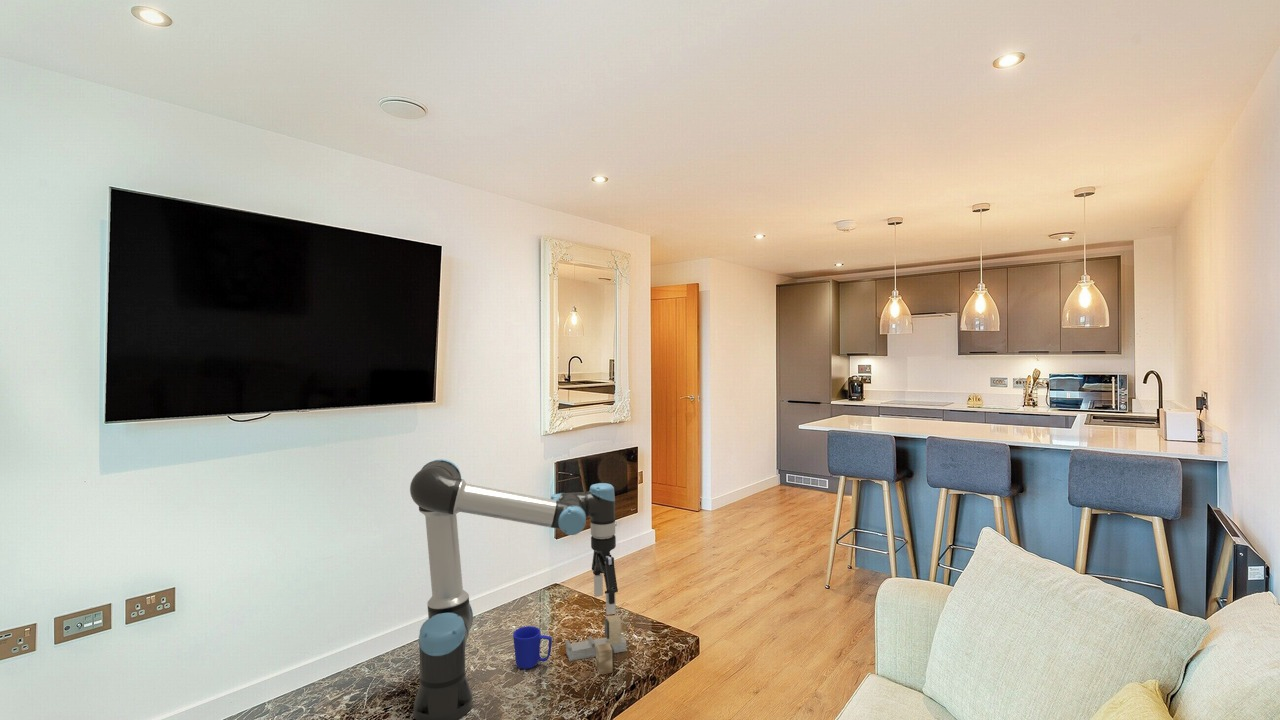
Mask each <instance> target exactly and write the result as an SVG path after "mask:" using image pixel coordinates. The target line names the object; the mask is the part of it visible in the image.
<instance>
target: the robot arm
mask: <svg viewBox="0 0 1280 720" xmlns="http://www.w3.org/2000/svg"><path fill="white" fill-rule="evenodd" d="M409 493H410V496H411V500H412V501H413V503H415V504H416V505H417V506H418V511H419V513H421V514H422V515H424V517H425V527H426V529H425V530H426V540H427V549H428V550H427V551H428V560H429V561H428V562H429V571H430V572H429V573H430V574H429V575H430V583H431V596H430V598H429V599H428V600H427V603H426V604H427V615H428V616H427V619H426V620H425V621H424V622H423V623H422V625H421V626H420V630H419V635H418V645H419V686H418V689H417V693H416V696H415V699H414V703H413V717H414V720H459V719H461V718H463V717H464V716H465V715H466V714H467V713H469V711H470V710H471V709H472V706H473V691H472V689H471V687H470V684H469V681H468V678H467V676H466V646H467V641H468V638H469V634H470V632H471V631H470V630H471V628H472V626H473V625H472V624H473V621H474V612H473V608H472V605H471V604H470V596H469V593H468V592H467V591H466V590H464V588H463V577H462V575H463V574H462V565H461V553H460V543H459V542H460V541H459V529H458V520H457V514H458V513H464V514H471V515H476V516H482V517H489V518H492V519H493V518H494V519H500V520H505V521H512V522H517V523H521V524H522V523H523V524H528V525H534V526H540V527H545V528H546V527H547V528H552V529H556V530H560V531H561V532H562V533H564V534H565V535H567V536H575V535H579V534H580V533H581V532H582V531H583V530H584V529H585V527H586V522H587V520H586V519H587V518H590V535H591V536H590V547H591V549H592V550H593V555H592V563H591V570H592V571H593V572H592V573H593V596H594V597H600V596H601V597H603V596H604V594H605V614H606V615H608V616H610V615H613V614H615V615H616V614H617V612H616V609H617V608H616V593H618V591H619V590H618V583H617V576H616V567H615V558H614V556H612V554H611V551H613V550H615V548H616V545H617V543H616V542H617V541H616V540H617V539H616V535H615V534H616V527H617V526H618V524H617V522H616V498H615V497H616V496H615V487H614V486H613V484H610V483H605V482H599V483H595V484H594V483H593V484H591V485H590V487H589V491H586V492H583V491H581V492H566V493H565V492H560V493H554V494H552V495H551V496H550V498H546V497H541V496H535V495H530V494H525V493H519V492H513V491H508V490H501V489H497V488H493V487H492V488H491V487H486V486H483V485H475V484H471V483H468V482H466V481H465V479H463V478H462V475H461V471H460V468H459V467H458V465H456V464H455V463H454V462H453V461H451V460H448V459H442V458H439V459H434V460H431V461H430V462H427V463H426V464H425V465H423V467H422V468H421V469H420V470H419V471H418V472H417V473H416V474H415V475H414V476H413V478H412V479H411V482H410V485H409ZM603 578H604V579H603ZM604 582H605V588H606V589H605V591H604Z"/></svg>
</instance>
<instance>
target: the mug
mask: <svg viewBox="0 0 1280 720" xmlns="http://www.w3.org/2000/svg"><path fill="white" fill-rule="evenodd" d="M512 634H513V635H512V636H513V648H514V656H515V664H516V666H517V667H518V668H520V669H524V670H526V669H527V670H529V669H531V668H535V666H537V664H538V663H539V661H540V662H542V663H543V662H547V661H548V660H549V658H550V656H551V651H552V642H553V637H552V636H550V635H544V634H541V630H540V628H539V627H537V626H536V627H535V626H534V625H533V626H532V625H531V626H530V625H529V626H527V625H526V626H522V627H519V628H517V629H515V630H514V631H513V632H512ZM541 640H546V641H547V640H548V650H547V651H548V652H547V656H546V657H545V658H543V657H541V655H540V654H541V652H540V650H541Z"/></svg>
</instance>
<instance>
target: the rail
mask: <svg viewBox="0 0 1280 720" xmlns="http://www.w3.org/2000/svg"><path fill="white" fill-rule="evenodd" d="M603 620H604V623H603V624H604V636H605V637H601V638H595V639H594V638H593V636H590V635H589V636H588V639H587V640H581V641H578V642H577V641H576V642H572V643H570V640H569V639H566V640H565V641H564V642H565V647H566V648H565V649H566V650H565V651H566V652H565V653H566V656H567V658H568V661H569V662H573V661H578V659H579V660H583V659H584V658H585V659H590V658H596V645H600V644H606V643H609V644H610V645H611V646H612V647H613V649H614V654H619V653H624V652H627V641H626V639H625V637H624V636H623V634H622V619H621V618H620V616H619V615H618V614H615V615H608V616H605V618H604V619H603ZM589 657H590V658H589Z"/></svg>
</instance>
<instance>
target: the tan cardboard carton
mask: <svg viewBox="0 0 1280 720" xmlns="http://www.w3.org/2000/svg"><path fill="white" fill-rule="evenodd" d="M595 659H596V660H595V662H596V663H595V664H596V665H595V667H596V671H597V673H598V672H599V673H598V674H602V675H605V674H607V675H608V674H611V673H613V672H614V671H613V667H615V653H614V649H613V647H612V646H611V645H610V644H609V643H606V644H600V645H596V657H595Z"/></svg>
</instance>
